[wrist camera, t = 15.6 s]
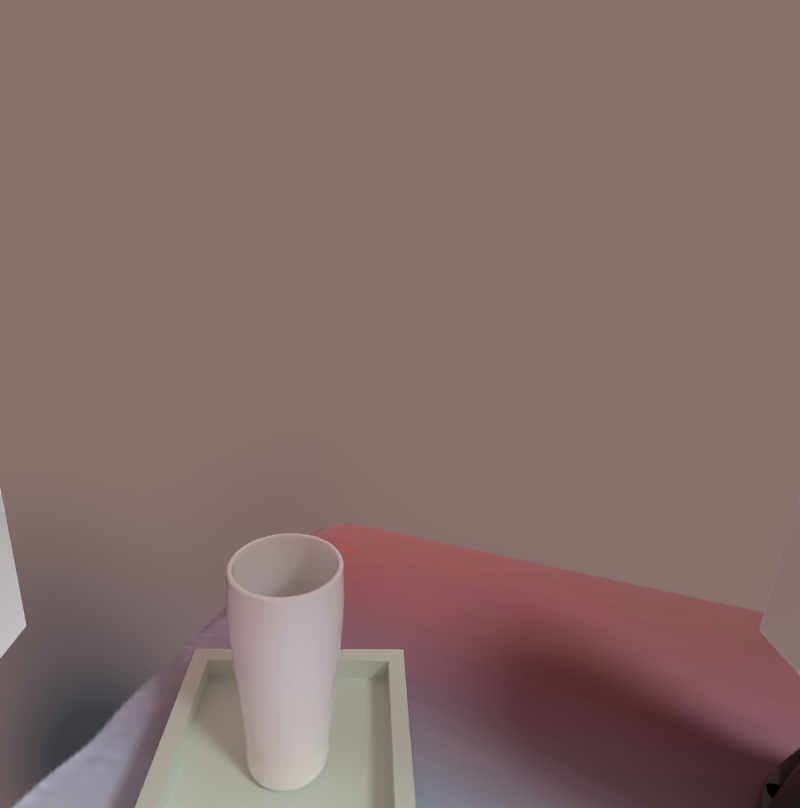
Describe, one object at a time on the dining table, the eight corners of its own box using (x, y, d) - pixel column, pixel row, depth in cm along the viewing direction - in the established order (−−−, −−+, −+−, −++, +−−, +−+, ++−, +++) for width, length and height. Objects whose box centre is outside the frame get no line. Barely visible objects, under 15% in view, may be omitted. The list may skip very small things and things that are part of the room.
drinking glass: (223, 809, 35) (210, 599, 30) (246, 715, 42) (239, 530, 37) (337, 808, 36) (342, 601, 31) (342, 715, 42) (347, 532, 37)
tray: (401, 674, 47) (403, 649, 46) (418, 899, 32) (420, 867, 31) (197, 674, 46) (195, 648, 45) (114, 907, 31) (108, 874, 30)
